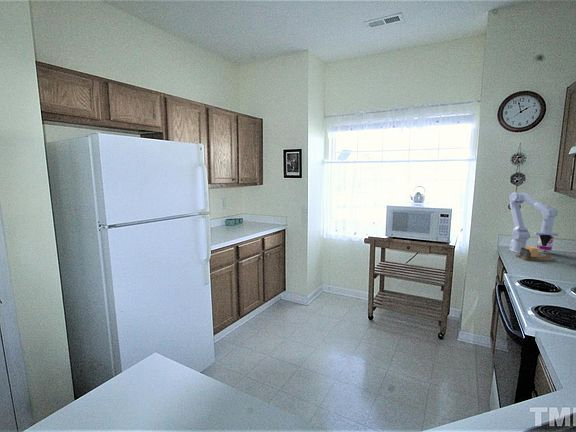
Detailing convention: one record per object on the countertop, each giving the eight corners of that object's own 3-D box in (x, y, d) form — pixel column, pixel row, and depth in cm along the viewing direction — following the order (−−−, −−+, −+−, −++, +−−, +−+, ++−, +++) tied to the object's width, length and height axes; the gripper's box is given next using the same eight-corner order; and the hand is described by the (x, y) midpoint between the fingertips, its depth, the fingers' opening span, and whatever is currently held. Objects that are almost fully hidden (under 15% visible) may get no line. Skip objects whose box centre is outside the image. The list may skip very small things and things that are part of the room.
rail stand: (515, 256, 217) (517, 246, 216) (543, 257, 216) (545, 247, 215) (526, 260, 207) (527, 250, 206) (555, 261, 206) (557, 251, 205)
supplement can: (553, 254, 224) (557, 234, 221) (542, 254, 224) (545, 233, 221) (544, 251, 232) (548, 231, 229) (533, 250, 232) (536, 231, 229)
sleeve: (524, 254, 214) (526, 246, 213) (531, 254, 214) (532, 246, 213) (530, 256, 209) (532, 248, 208) (537, 257, 209) (539, 248, 208)
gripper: (540, 227, 204) (537, 246, 206) (563, 227, 203) (559, 247, 206) (532, 224, 211) (529, 244, 213) (554, 225, 210) (551, 244, 213)
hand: (543, 245), depth 210 cm, fingers closed
